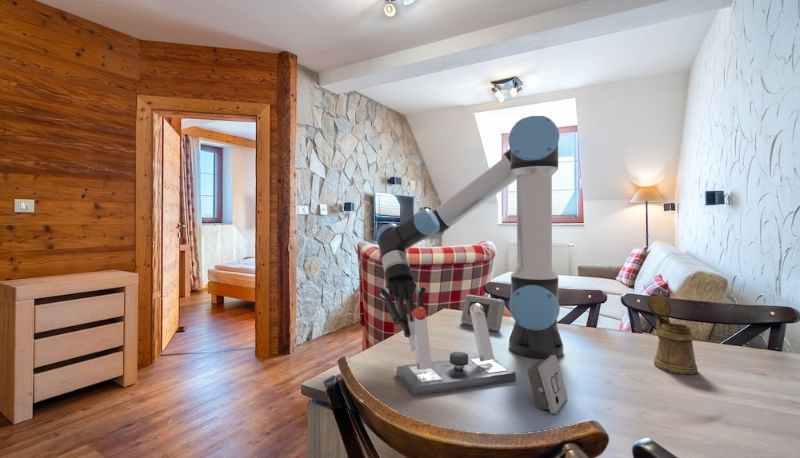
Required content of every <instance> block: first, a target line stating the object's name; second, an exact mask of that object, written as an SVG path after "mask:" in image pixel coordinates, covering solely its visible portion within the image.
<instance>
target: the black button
mask: <svg viewBox="0 0 800 458" xmlns="http://www.w3.org/2000/svg"><path fill="white" fill-rule="evenodd" d="M468 358H469V354H468V353H466V352H463V351H453V352H450V353H449V360H450V363H451V364H453V365H456V366H464V365H467V364H468Z"/></svg>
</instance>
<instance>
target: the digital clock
mask: <svg viewBox="0 0 800 458" xmlns="http://www.w3.org/2000/svg"><path fill="white" fill-rule="evenodd" d="M475 303H478V304H481V305H482V306H483V308H484V313H485V317H486V322H487V327H488V331H494V332H499V331H500V330H501V326H502V321H503V316H504V309H505V301H504V299H498V298H494V297H488V296H482V295H481V296H480V295H474V294H466V295H465V298H464V304H463V308H462V313H461V317H460V322H461V324H462V325H468V326H469V327H473V323H472V318H471V313H470V307H471V306H472V305H473V304H475Z"/></svg>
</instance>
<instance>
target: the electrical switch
mask: <svg viewBox="0 0 800 458" xmlns="http://www.w3.org/2000/svg"><path fill="white" fill-rule="evenodd" d="M526 371H527V376H528V379H529V380H528V381H529V383H530V387H531V391H532V395H533V398H534V401H535V402H534V403H535V404H536V405H535V406H536V409H538V410H549V413H550V414H552V415H556V414H557V413H558V412H559V410H560V409H561V408H562V406H563V405H564V403H565V402H566V401H567V400H568V393H567V389H566V385H565V382H564V378H563V375H562V371H561V368H560V364H559V360H558V357H556V355H551V356H550V357H549V358H544V359H538V360H537V361H536V362H535V363H534V364H532V365H531V366H530V367H529V368H527V370H526Z"/></svg>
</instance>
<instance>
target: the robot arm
mask: <svg viewBox="0 0 800 458" xmlns="http://www.w3.org/2000/svg"><path fill="white" fill-rule="evenodd" d="M559 142H560V131H559V128H558V127H557V125H556V123H555V122H554V121H553V120H552V119H550V118H549V117H547V116H545V115H542V114H530V115H526V116H524V117H522V118H520V119H519V120H517V122H516V123H515V124H514V125H513V126H512V127H511V129H510V132H509V136H508V147H509V148H508V150H506V151H505V152H504V153H502V157H501V159H500V160H498V161H497V163H495V164H494V165H492V166H491V167H489V168H488V169H487V170H486V171H484V172H483V173H481V174H480V175H479V176H478V177H476V178H475V179H474V180H472V181H471V182H470V183H468V184H467V185H466V186H464V187H463V188H462V189H460V190H459V191H458V192H456V193H455V194H454V195H452V196H451V197H450V198H449V199H447V200H446V201H444V202H443V203H442V204H441V205H439V206H438V207H436V208H434V210H431V209H429V208H424V209H422V210H421V211H417V212H416V213H415V214H414V215H412V216H411V217H409V218H407V219H405V220H404V221H403V222H401V223H400V224H398V225H397V224H396V223H388V224H383V225H381V226H380V227H379V228H378V230H377V232H376V237H377V245H378V248H379V252H380V253H379V254H380V256H381V262H382V267H383V271H384V277H385V282H386V287H385V288H382V289H380V292H379V295H378V296H379V298H380V299H381V300H382V301H383V302H384V304H385V306H386V308H387V311H388V313H389V314H390V316H391V319H392V321H393V323H394V325H396V326H398V325H400V327H401V328H402V331H403V336H404V337H405V338H408V341H409V345H410V350H411V352H415V343H414V332H413V322H412V310H413V309H414V308H415V307H422V308H424V309H425V307H424V306H425V304H424V303H425V301H424V299H425V297H424V294H425V292H426V288H425V287H419V286H417V283H416V282H415V281H414V276H413V273H412V269H411V267H410V262H409V259H408V258H409V257H408V255H407V250H408V249H409V248H412V247H413V246H415V245H416V244H418V243H420V242H423V241H425V240H426V241H427V240H431V239H432V240H434V239H439V238H440V237H441V236H443V235H444V234H445V232H446V231H448V229H450V228H451V227H453V226H454V225H456V224H457V223H458V222H460V221H461V220H462V219H464V218H465V217H467V216H468V215H469V214H471V213H472V212H473V211H475V210H476V209H478V208H479V207H480V206H482V205H484V204H485V203H486V202H487V201H489V200H490V199H492V198H493V197H494V196H496V195H497V194H498V193H501V191H503V190H504V189H506V188H508V187H509V186H510V185H511V184H513V183H514V182H516V268H515V270H514V271H513V272H512V273H511V274H510V298H509V301H508V306H509V313H510V315H511V317H512V318H513V320H514V324H513V328H512V331H511V333H510V337H509V338H508V348H509V350H510V351H511V352H514V353H515V354H517V355H521V356H523V357H524V356H525V357H528V358H533V359H534V358H535V359H548V358H549V357H550V356H551V355H556V357H557V358H559V357H561V356H563V354H564V344H563V340H562V337H561V334H560V331H559V327H558V317H559V315H560V310H561V309H560V303H559V274H557V273H556V272H555V271H554V270H553V223H552V222H553V218H552V217H553V212H552V211H553V208H552V207H553V204H552V203H553V199H552V197H553V187H552V186H553V178H552V177H553V176H554V175H555V174H556V173H557V171H558V170H559ZM414 293H415V295H416V297H417V298H416V306H415V303H414V298H413V295H414ZM393 298H394V299H395V303H396V305H397V306H396V305H395V303H394V301H393ZM405 305H406V306H405ZM406 308H407V310H406ZM407 312H408V313H407ZM408 317H409V318H408ZM409 320H410V321H409Z"/></svg>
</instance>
